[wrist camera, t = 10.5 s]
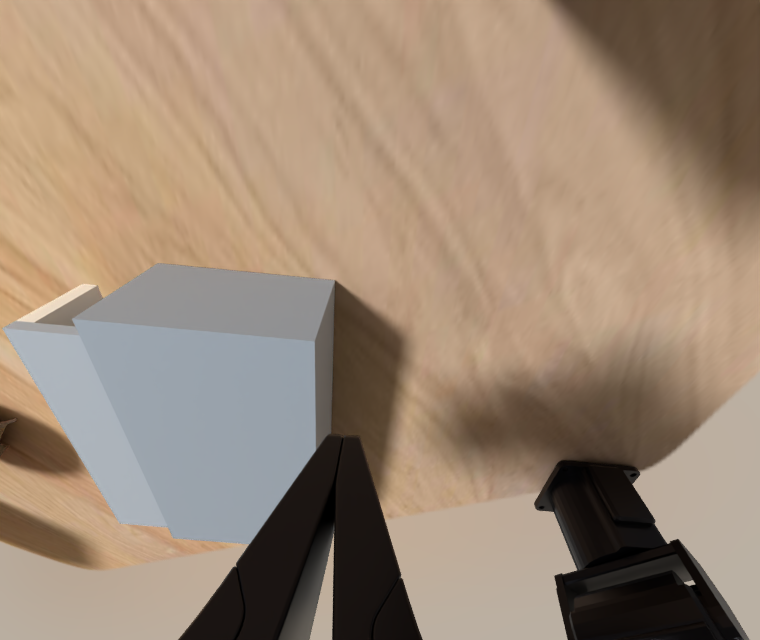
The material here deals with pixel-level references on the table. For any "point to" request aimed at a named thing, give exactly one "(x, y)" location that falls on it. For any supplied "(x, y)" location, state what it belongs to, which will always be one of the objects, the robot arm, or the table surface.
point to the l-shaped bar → (83, 403)
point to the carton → (216, 388)
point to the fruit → (0, 429)
